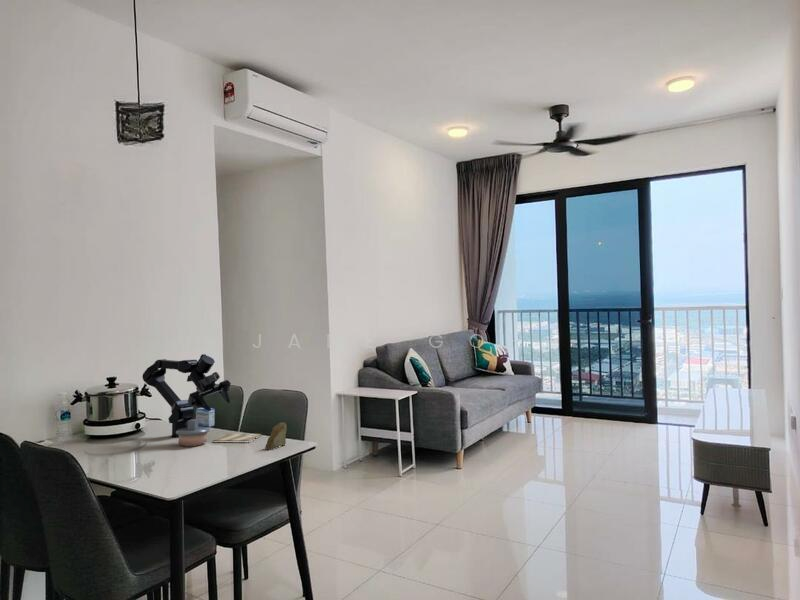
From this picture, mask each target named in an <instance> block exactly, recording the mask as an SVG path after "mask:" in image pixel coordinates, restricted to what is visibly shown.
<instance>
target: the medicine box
mask: <svg viewBox="0 0 800 600" xmlns="http://www.w3.org/2000/svg"><path fill="white" fill-rule="evenodd" d="M210 408H211V411H208V410H206V409H204V408H201V407H198V408H196V409H195V419H198V427H208V428H210V427H214V426H215V411H216V410H215V408H214V407H213V408H212V407H210Z"/></svg>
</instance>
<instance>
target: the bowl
mask: <svg viewBox="0 0 800 600" xmlns="http://www.w3.org/2000/svg"><path fill="white" fill-rule="evenodd" d="M207 434H208V432H207V433H204V434H198V435H179V437H177V438H178V442H177V443H178V445H181V446H182V447H187V446H190V447H198V446H197V445H199V446H202V445H203V444H204V443H206V442H207V441H208V439H207V438H208V435H207ZM202 443H203V444H202ZM201 444H202V445H201Z"/></svg>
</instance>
